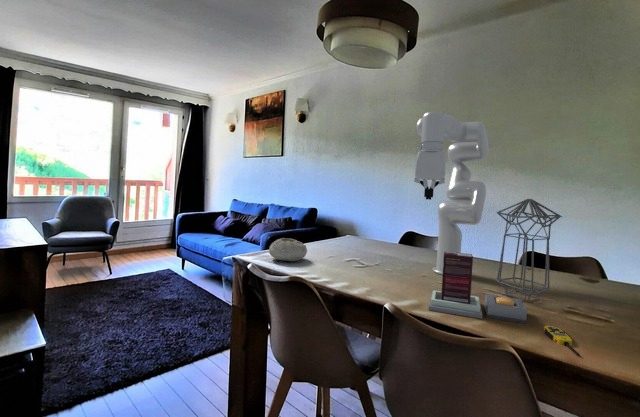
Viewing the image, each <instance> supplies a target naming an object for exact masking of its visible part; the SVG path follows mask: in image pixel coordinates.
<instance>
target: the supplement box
mask: <svg viewBox="0 0 640 417" xmlns="http://www.w3.org/2000/svg"><path fill="white" fill-rule="evenodd" d="M473 259H474V257H473V254H472V253H463V252H461V253H455V252H444V258H443V275H442V278H441V291H442V297H441V300H445V301H451V302H458V303H464V304H470V297H471V296H472V294H471V293H472V280H473V263H474V260H473Z"/></svg>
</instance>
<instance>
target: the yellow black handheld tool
mask: <svg viewBox="0 0 640 417" xmlns="http://www.w3.org/2000/svg"><path fill="white" fill-rule="evenodd" d="M543 331H544V334H545V336H546V337H547V336H548V337H547V338H548V339H550V340H551V341H553V340H554V341H553V342H554V343H556V342H557V344H558V345H561V346H564V347H565V346H566V347H568V349H570V350H571V351H572V352H573V353H574V354H575V355H576V356H578V357H580V356H581V354H580V353H579V352H578V351H576V349H575V348H574V347H572V346H573V340H572V337H571V335H569V333H567V332H566V331H564V330H563V329H560V328H559V327H557V326H553V325H552V326H551V325H545V326H544V328H543Z"/></svg>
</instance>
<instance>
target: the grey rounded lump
mask: <svg viewBox="0 0 640 417" xmlns="http://www.w3.org/2000/svg"><path fill="white" fill-rule="evenodd" d="M268 253H269V255H270V256H271V257H272V258H273V259H275V260H278V261H283V262H297V261H301V260H302V259H304V258H305V257H306V255H307V253H308V249H307V246H306V244H304V243H303V241H299V240H297V239H294V238H285V237H282V238H279V239H276V240H275V241H273V242H271V244H270V245H269V250H268Z"/></svg>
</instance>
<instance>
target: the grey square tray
mask: <svg viewBox="0 0 640 417" xmlns="http://www.w3.org/2000/svg"><path fill="white" fill-rule="evenodd" d="M441 297H442V290H434V289H433V290H432V292H431V295H430V298H429V299H430V300H429V303H428V311H433V312H438V313H445V314H451V315H455V314H456V315H455V316H461V317H469V318H473V319H479V320H482V319H483V312H482V306H481V302H480V297H479V296H476V295H471V297H470V304H464V303H458V302H451V301H445V300H441Z"/></svg>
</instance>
